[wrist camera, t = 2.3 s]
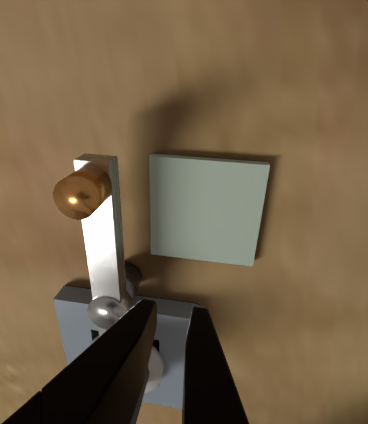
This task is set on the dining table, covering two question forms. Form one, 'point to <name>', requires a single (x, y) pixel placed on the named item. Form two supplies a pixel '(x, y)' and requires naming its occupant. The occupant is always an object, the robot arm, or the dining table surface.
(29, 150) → the dining table surface
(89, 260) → the lever
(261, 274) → the dining table surface
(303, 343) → the dining table surface
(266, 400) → the dining table surface
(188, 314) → the socket block
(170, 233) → the pad
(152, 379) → the plug
